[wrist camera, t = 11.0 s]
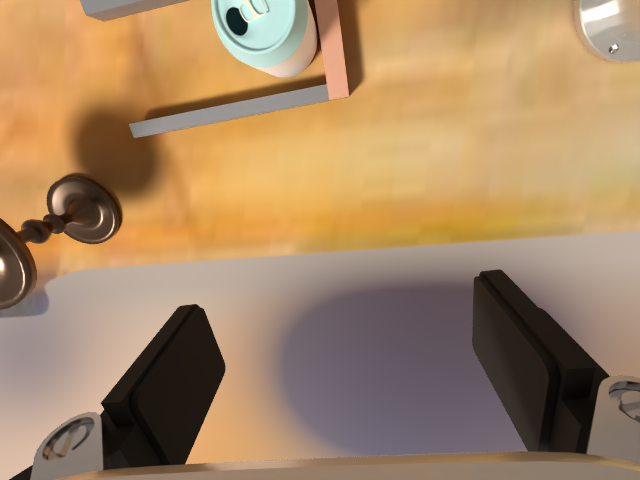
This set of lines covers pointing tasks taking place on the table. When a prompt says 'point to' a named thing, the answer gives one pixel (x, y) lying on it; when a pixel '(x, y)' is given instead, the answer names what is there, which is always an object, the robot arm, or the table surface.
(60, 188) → the candlestick
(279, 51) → the can
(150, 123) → the track
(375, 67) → the table surface
